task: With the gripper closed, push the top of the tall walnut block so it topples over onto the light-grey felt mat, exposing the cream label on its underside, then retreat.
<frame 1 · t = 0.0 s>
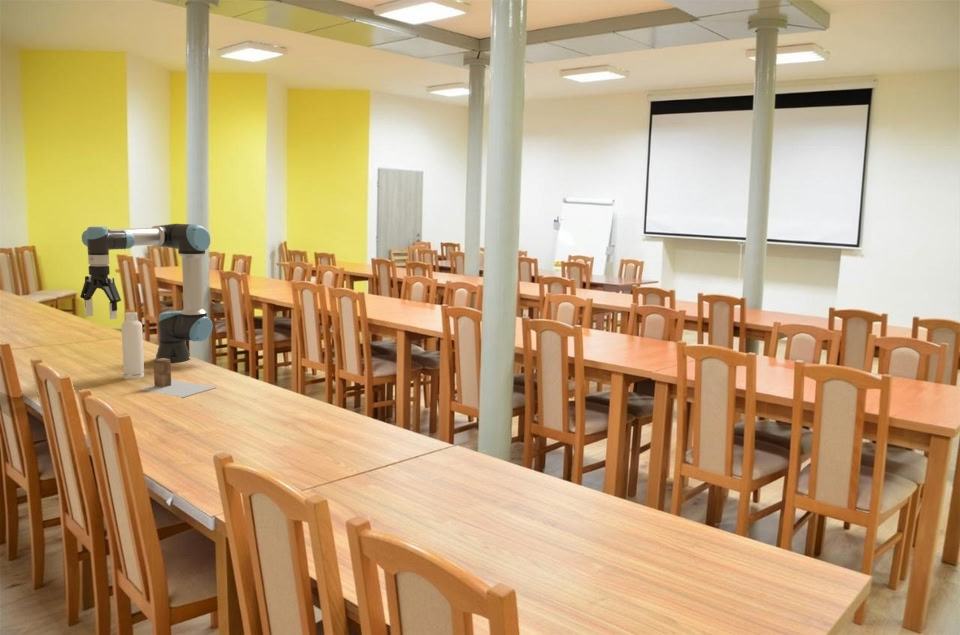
hand: (101, 317, 307), 28 cm above the table, fingers open, 13 cm apart
bottle: (134, 377, 324), on the table
felt mat: (177, 389, 307), on the table
walnut block: (162, 385, 310), resting on felt mat
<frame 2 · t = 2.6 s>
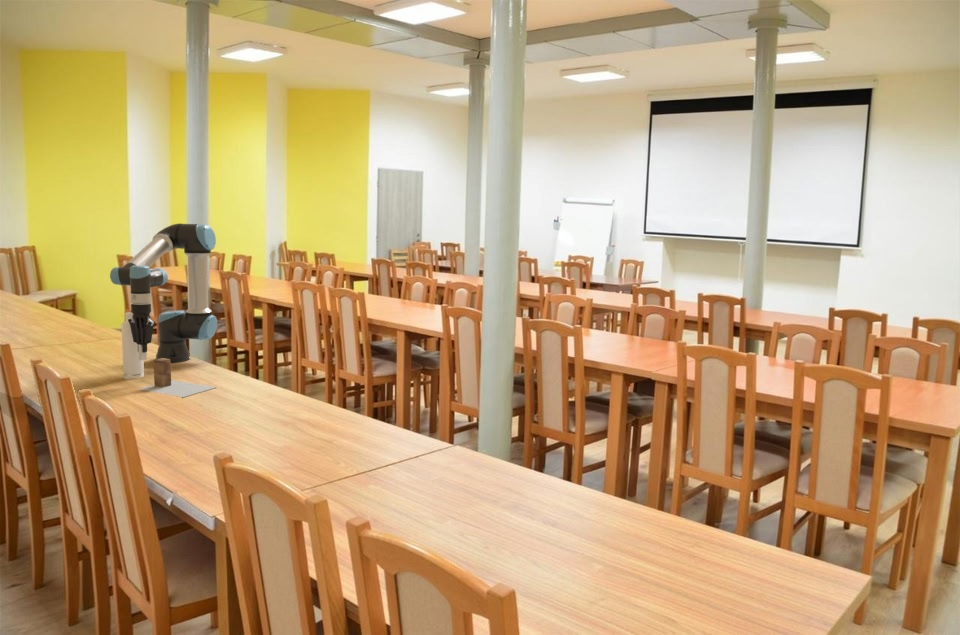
hand: (142, 359, 312), 10 cm above the table, fingers closed
nothing on the table moved.
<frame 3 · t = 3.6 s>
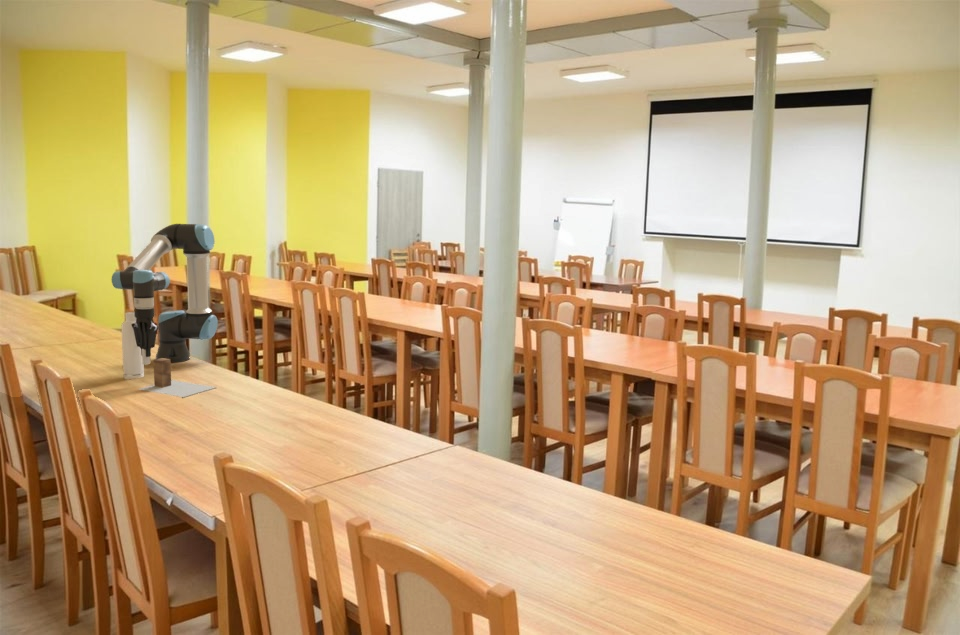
hand: (146, 364, 312), 8 cm above the table, fingers closed
nothing on the table moved.
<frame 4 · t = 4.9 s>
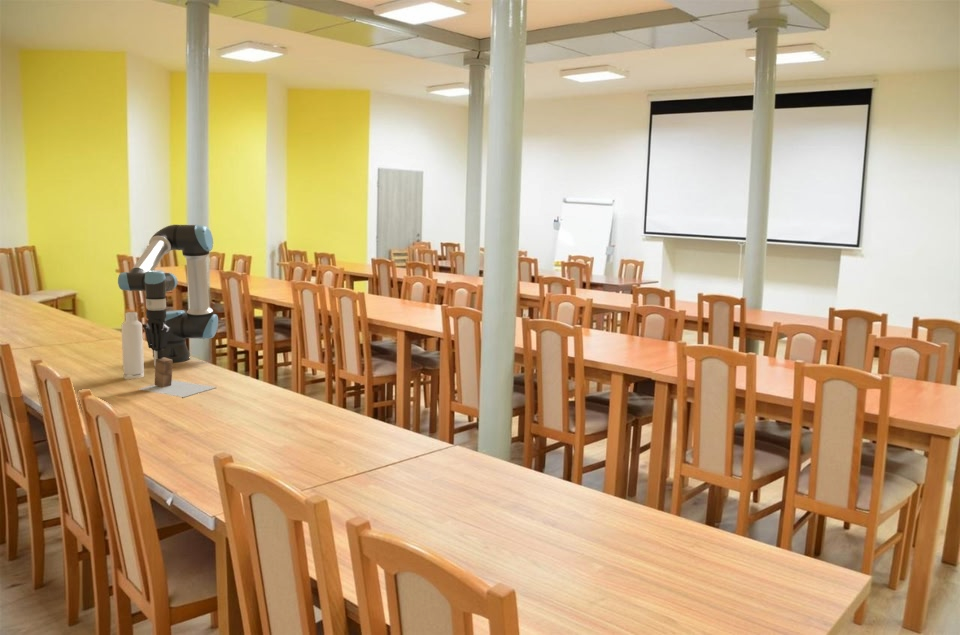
hand: (158, 365, 309), 9 cm above the table, fingers closed
walnut block: (162, 385, 310), point 1 cm above the table, tilted 7°, touching felt mat
everything else where it was.
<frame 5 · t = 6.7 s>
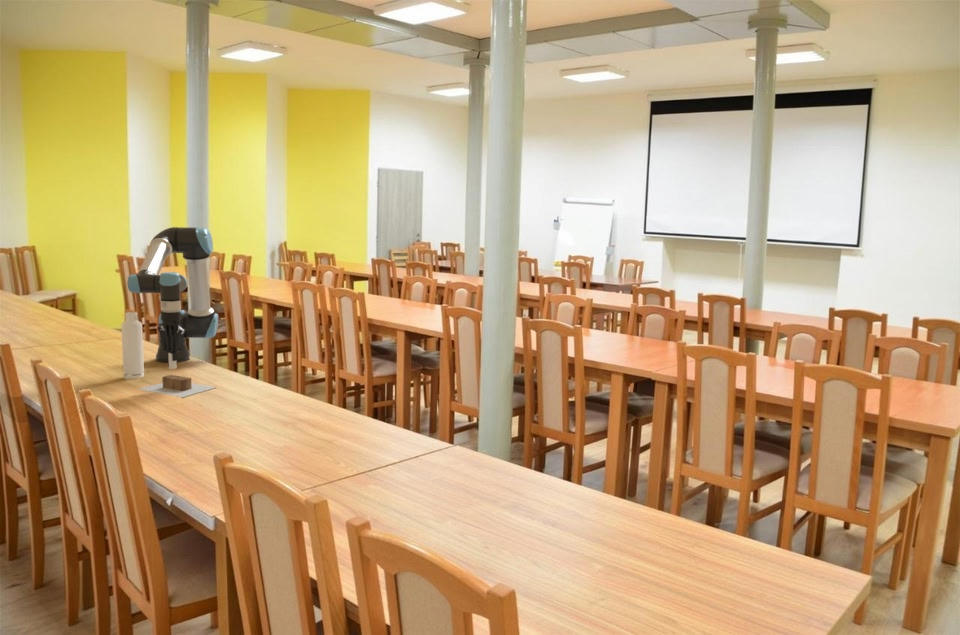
hand: (172, 368, 306), 8 cm above the table, fingers closed
walnut block: (166, 381, 309), point 3 cm above the table, tilted 90°, touching felt mat
everything else where it was.
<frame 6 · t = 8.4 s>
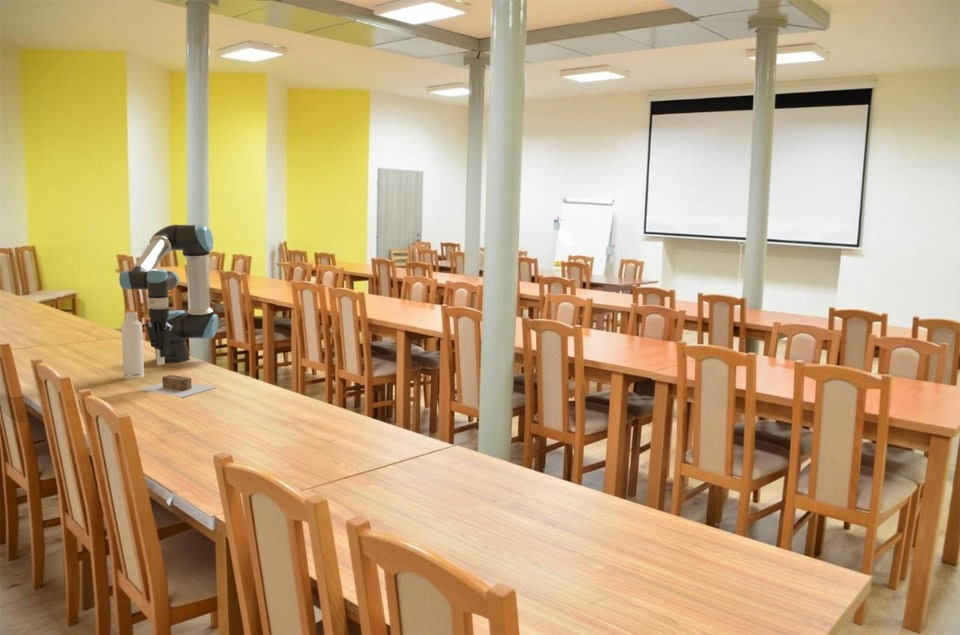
hand: (160, 364, 309), 9 cm above the table, fingers closed
nothing on the table moved.
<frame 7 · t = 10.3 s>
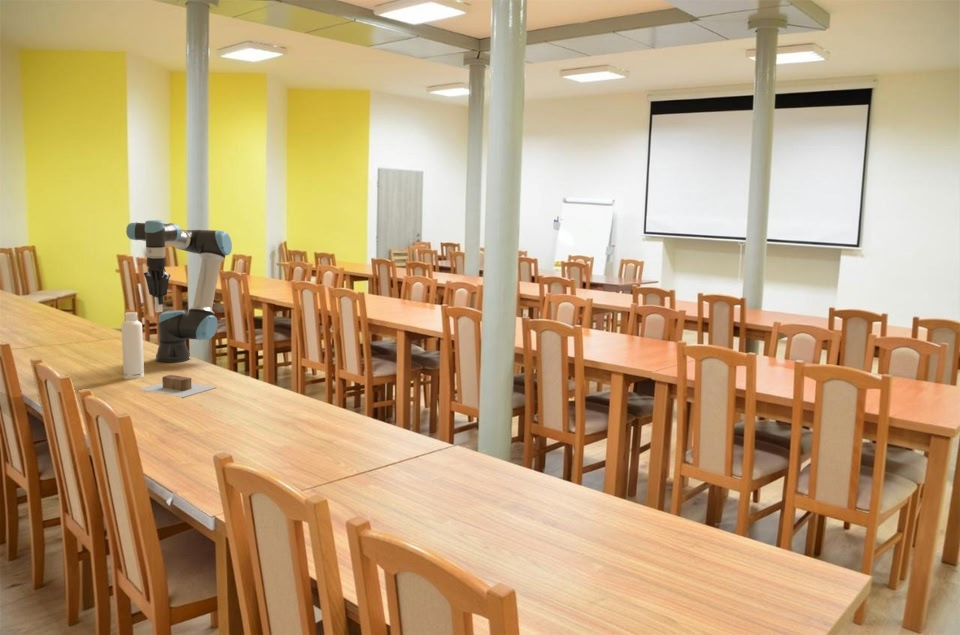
hand: (159, 311, 324), 28 cm above the table, fingers closed
nothing on the table moved.
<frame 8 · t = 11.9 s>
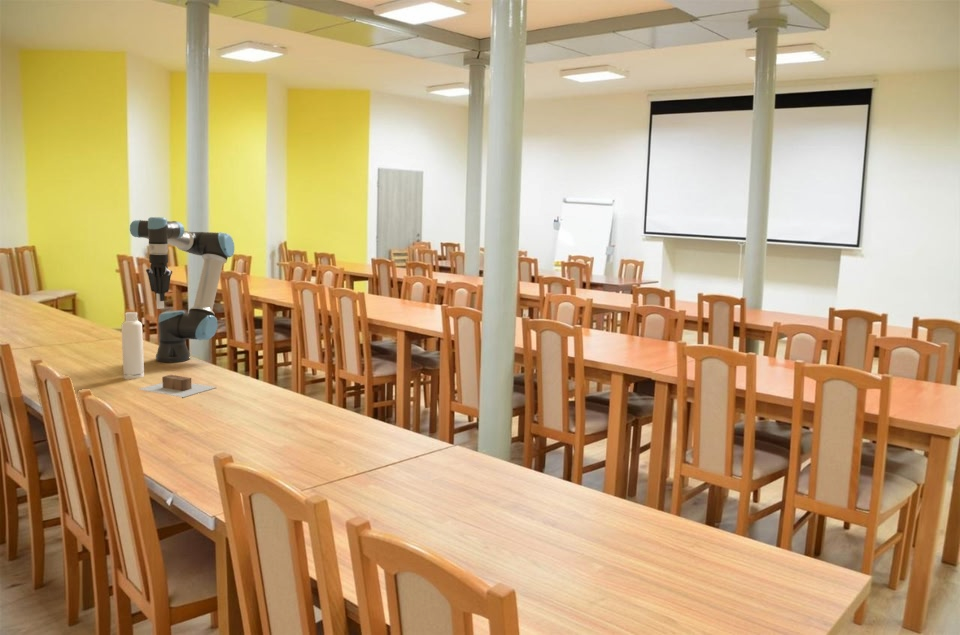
hand: (160, 308, 325), 29 cm above the table, fingers closed
nothing on the table moved.
at the end: walnut block tilted 90°; walnut block inside the target area (6.2 cm from its centre), point 2.6 cm above the table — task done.
